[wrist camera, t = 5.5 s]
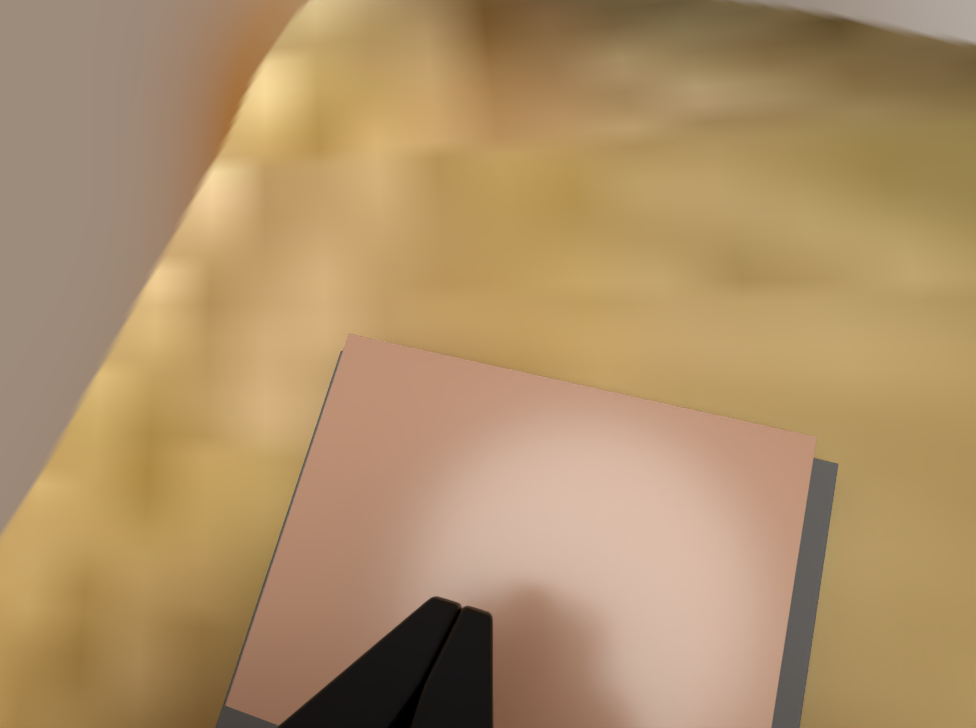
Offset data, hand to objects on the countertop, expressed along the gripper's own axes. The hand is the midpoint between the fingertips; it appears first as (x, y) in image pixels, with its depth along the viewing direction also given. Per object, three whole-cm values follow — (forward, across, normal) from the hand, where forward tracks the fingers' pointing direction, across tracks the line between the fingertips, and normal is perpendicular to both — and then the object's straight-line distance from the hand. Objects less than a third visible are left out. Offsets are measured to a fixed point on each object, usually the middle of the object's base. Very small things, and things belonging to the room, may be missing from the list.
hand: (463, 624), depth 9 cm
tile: (+2, 0, +6) cm, 6 cm away
